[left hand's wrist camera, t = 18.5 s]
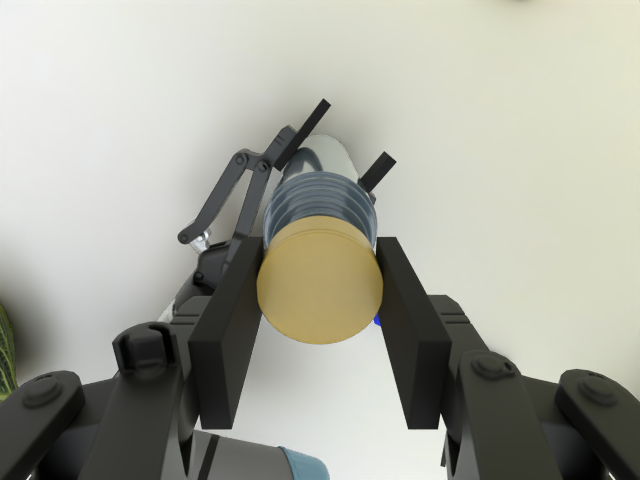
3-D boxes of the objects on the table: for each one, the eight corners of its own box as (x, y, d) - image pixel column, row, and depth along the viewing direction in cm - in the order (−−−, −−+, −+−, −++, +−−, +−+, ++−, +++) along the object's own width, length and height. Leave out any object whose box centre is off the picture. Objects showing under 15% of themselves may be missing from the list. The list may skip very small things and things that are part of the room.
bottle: (341, 199, 38) (375, 363, 15) (285, 186, 38) (227, 335, 14) (356, 142, 36) (424, 227, 12) (296, 127, 35) (251, 188, 12)
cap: (294, 194, 13) (291, 208, 12) (397, 247, 14) (408, 268, 12) (245, 288, 15) (235, 314, 13) (341, 332, 16) (343, 361, 14)
